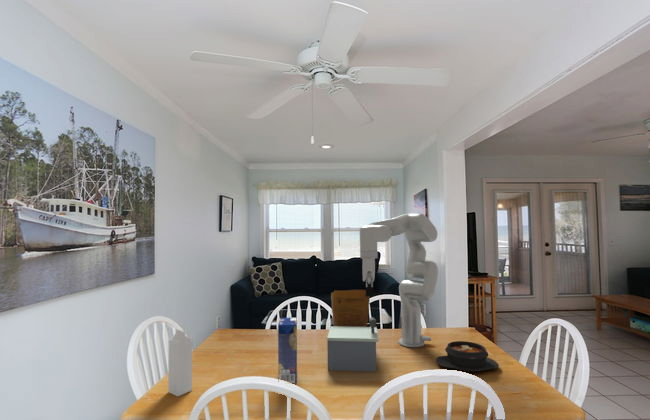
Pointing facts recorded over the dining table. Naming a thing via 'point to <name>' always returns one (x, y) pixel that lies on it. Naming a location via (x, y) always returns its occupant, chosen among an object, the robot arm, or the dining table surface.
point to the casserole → (466, 357)
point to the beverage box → (287, 349)
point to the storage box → (351, 355)
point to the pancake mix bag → (350, 308)
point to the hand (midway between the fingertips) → (369, 294)
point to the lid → (354, 333)
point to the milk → (180, 364)
